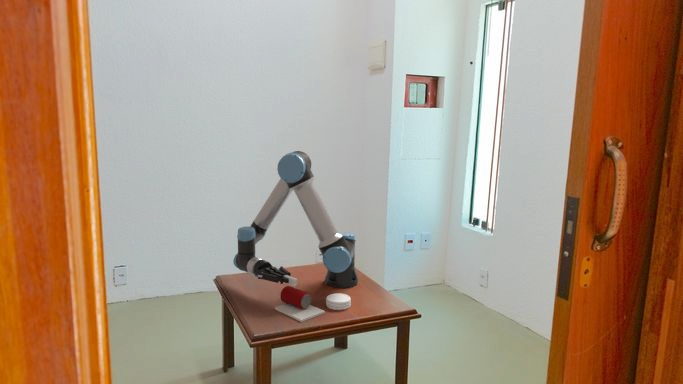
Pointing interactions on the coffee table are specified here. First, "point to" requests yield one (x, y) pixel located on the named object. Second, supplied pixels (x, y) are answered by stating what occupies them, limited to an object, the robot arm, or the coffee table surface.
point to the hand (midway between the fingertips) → (295, 282)
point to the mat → (299, 312)
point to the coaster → (338, 301)
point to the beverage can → (295, 297)
